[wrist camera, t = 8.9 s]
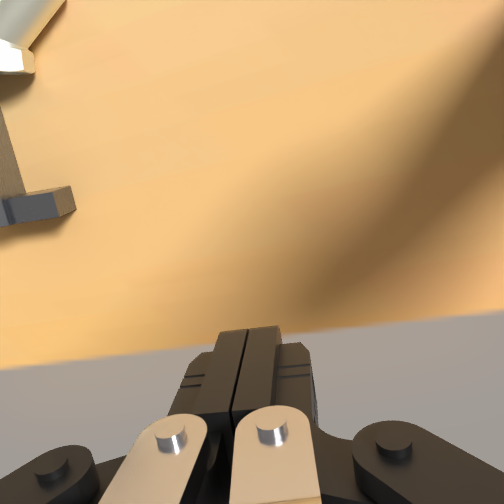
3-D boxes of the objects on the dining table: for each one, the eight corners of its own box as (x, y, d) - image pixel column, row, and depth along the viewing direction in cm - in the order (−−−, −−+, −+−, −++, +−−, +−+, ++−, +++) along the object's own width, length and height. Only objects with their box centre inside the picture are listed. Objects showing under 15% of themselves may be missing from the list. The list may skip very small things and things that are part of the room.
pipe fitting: (71, -42, 35) (-19, -41, 35) (49, -60, 31) (-52, -58, 32) (84, 73, 38) (-1, 75, 38) (64, 70, 34) (-30, 71, 34)
